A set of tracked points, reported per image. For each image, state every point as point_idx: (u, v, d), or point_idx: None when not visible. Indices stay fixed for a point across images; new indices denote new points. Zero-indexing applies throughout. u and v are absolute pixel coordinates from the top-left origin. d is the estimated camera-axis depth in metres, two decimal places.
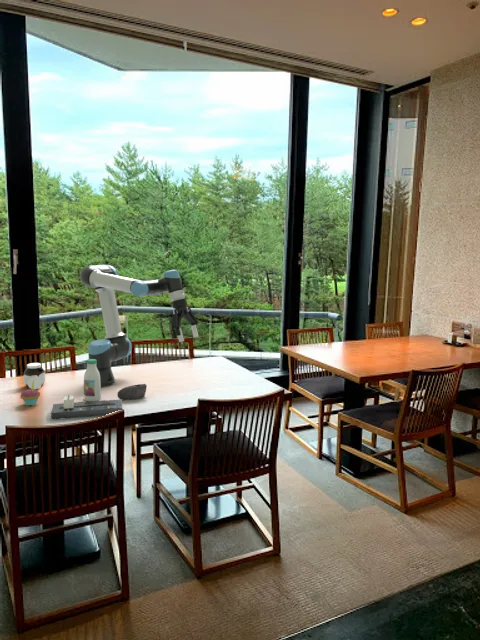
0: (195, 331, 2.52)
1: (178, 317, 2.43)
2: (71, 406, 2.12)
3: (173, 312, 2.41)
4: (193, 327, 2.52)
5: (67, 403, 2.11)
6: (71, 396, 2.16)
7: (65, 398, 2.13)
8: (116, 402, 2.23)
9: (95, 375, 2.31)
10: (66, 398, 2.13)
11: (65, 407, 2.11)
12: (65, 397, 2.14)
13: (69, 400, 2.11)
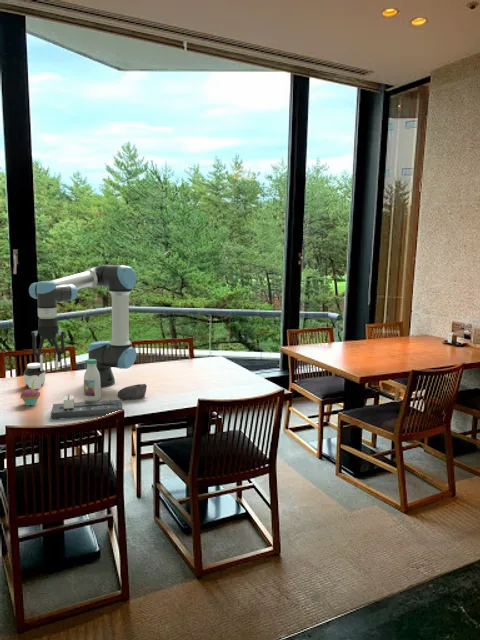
0: (56, 362, 2.09)
1: (41, 340, 2.07)
2: (71, 406, 2.12)
3: (32, 334, 2.06)
4: None
5: (67, 403, 2.11)
6: (71, 396, 2.16)
7: (65, 398, 2.13)
8: (116, 402, 2.23)
9: (95, 375, 2.31)
10: (66, 398, 2.13)
11: (65, 407, 2.11)
12: (65, 397, 2.14)
13: (69, 400, 2.11)
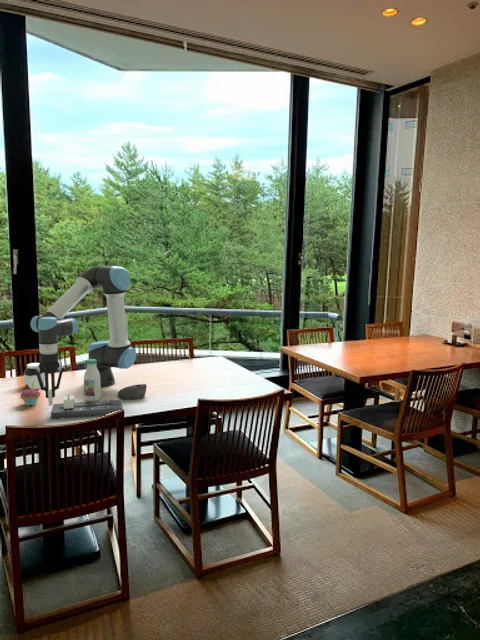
0: None
1: (45, 375, 2.09)
2: (71, 406, 2.12)
3: None
4: None
5: (67, 403, 2.11)
6: (71, 396, 2.16)
7: (65, 398, 2.13)
8: (116, 402, 2.23)
9: (95, 375, 2.31)
10: (66, 398, 2.13)
11: (65, 407, 2.11)
12: (65, 397, 2.14)
13: (69, 400, 2.11)
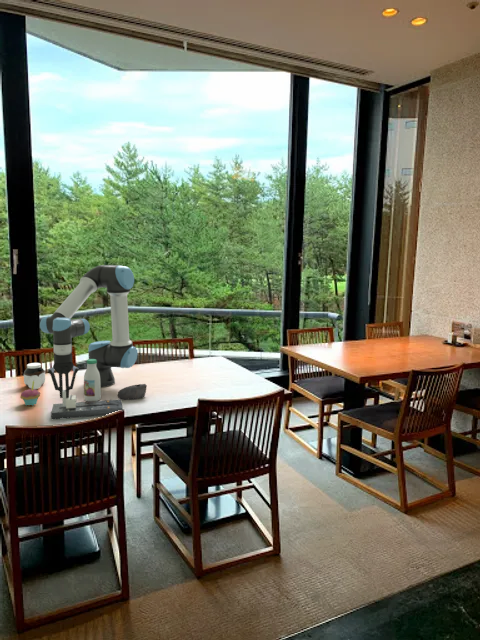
0: None
1: (59, 376, 2.11)
2: (73, 406, 2.12)
3: None
4: None
5: (69, 403, 2.12)
6: (73, 396, 2.16)
7: (67, 398, 2.13)
8: (116, 402, 2.23)
9: (95, 375, 2.31)
10: (68, 398, 2.13)
11: (67, 407, 2.12)
12: None
13: (71, 400, 2.12)
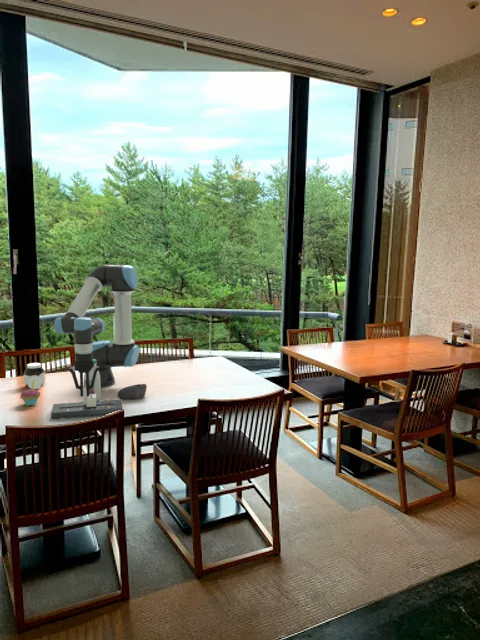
0: None
1: (80, 375, 2.14)
2: (94, 404, 2.15)
3: None
4: None
5: (90, 401, 2.14)
6: (94, 395, 2.18)
7: (88, 397, 2.15)
8: (116, 402, 2.23)
9: None
10: (89, 397, 2.15)
11: (88, 405, 2.14)
12: (88, 396, 2.16)
13: (92, 398, 2.14)
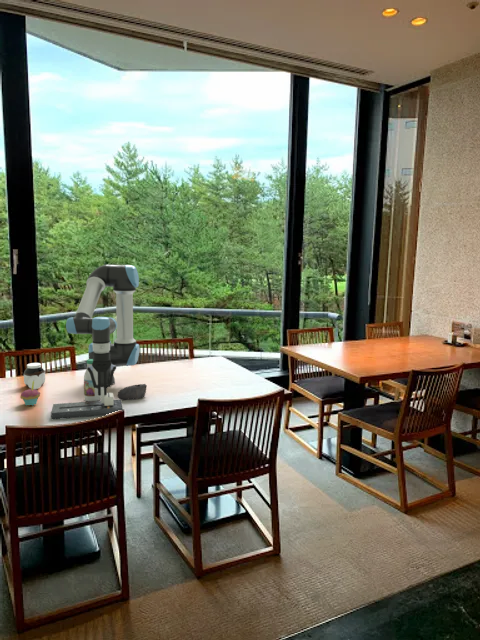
0: None
1: None
2: (111, 403, 2.17)
3: (88, 370, 2.15)
4: None
5: (107, 400, 2.16)
6: (111, 393, 2.20)
7: (105, 395, 2.18)
8: (116, 402, 2.23)
9: (95, 375, 2.31)
10: (106, 395, 2.18)
11: (106, 404, 2.16)
12: (105, 395, 2.19)
13: (109, 397, 2.16)
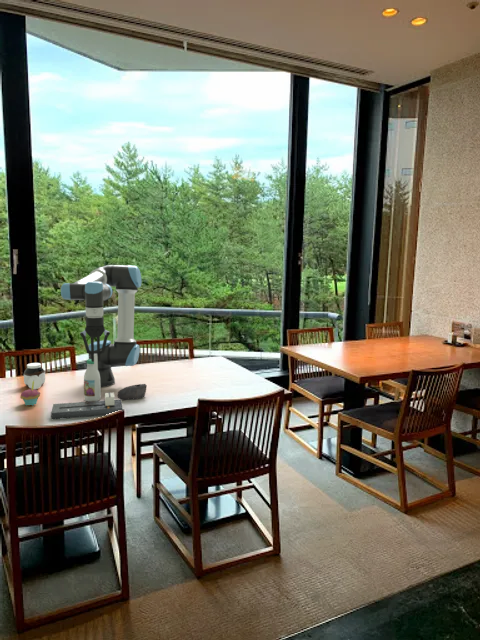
0: None
1: None
2: (112, 403, 2.17)
3: (81, 335, 2.12)
4: None
5: (109, 400, 2.16)
6: (112, 393, 2.21)
7: (106, 395, 2.18)
8: (116, 402, 2.23)
9: (95, 375, 2.31)
10: (107, 395, 2.18)
11: (107, 404, 2.16)
12: (106, 395, 2.19)
13: (110, 397, 2.16)
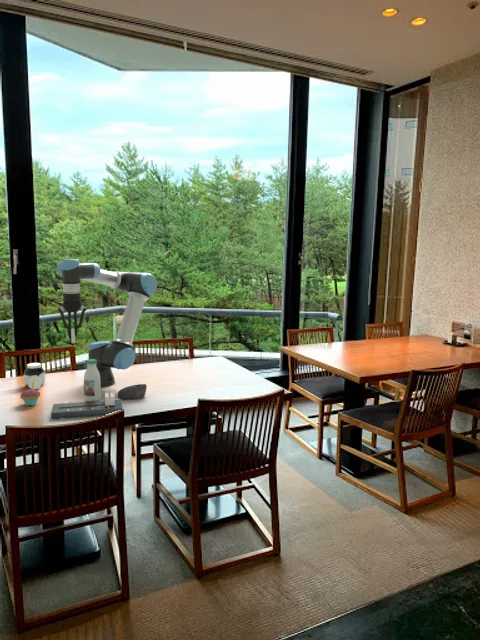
0: None
1: (68, 314, 2.23)
2: (112, 403, 2.17)
3: (59, 310, 2.21)
4: None
5: (109, 400, 2.16)
6: (112, 393, 2.21)
7: (106, 395, 2.18)
8: (116, 402, 2.23)
9: (95, 375, 2.31)
10: (107, 395, 2.18)
11: (107, 404, 2.16)
12: (106, 395, 2.19)
13: (110, 397, 2.16)
